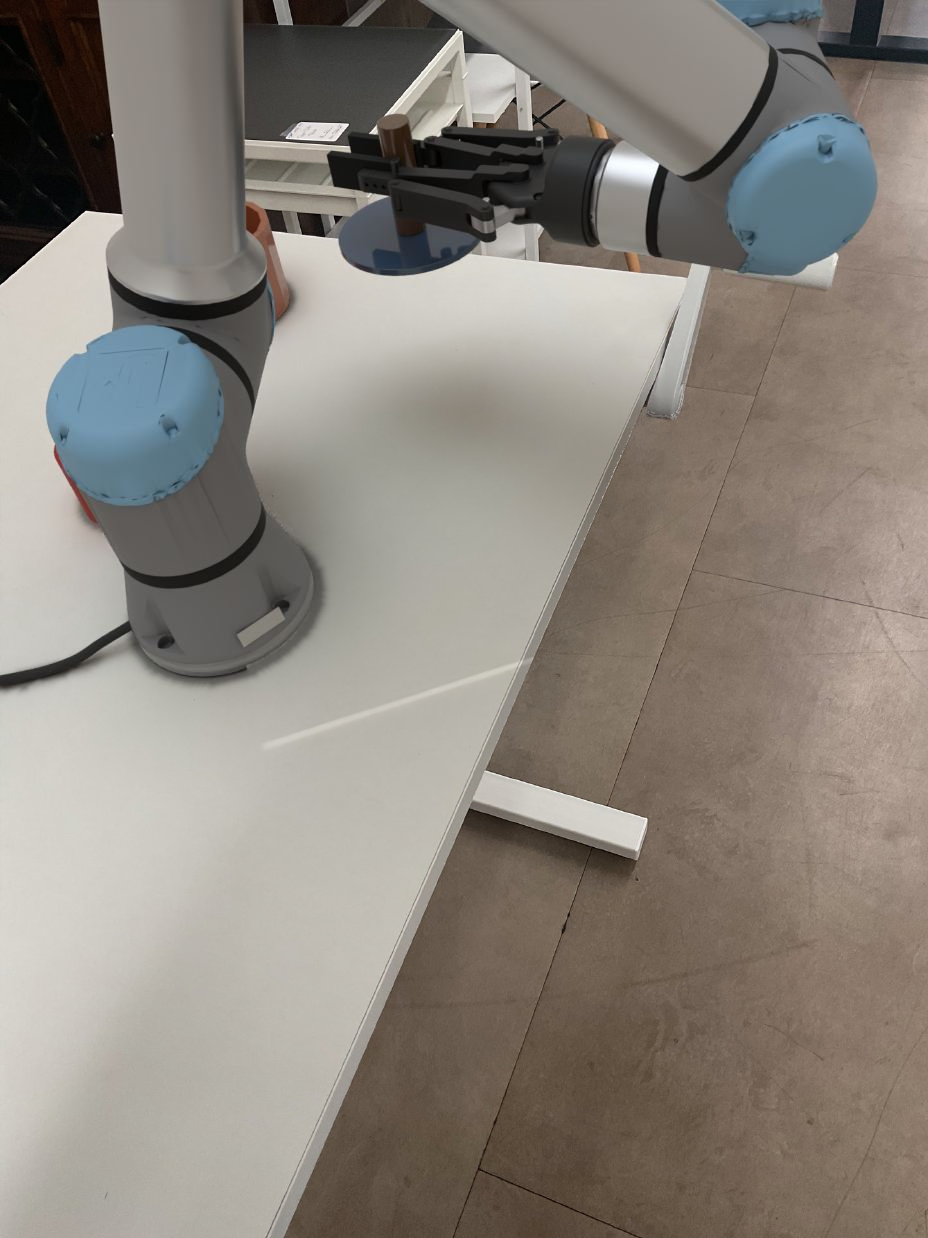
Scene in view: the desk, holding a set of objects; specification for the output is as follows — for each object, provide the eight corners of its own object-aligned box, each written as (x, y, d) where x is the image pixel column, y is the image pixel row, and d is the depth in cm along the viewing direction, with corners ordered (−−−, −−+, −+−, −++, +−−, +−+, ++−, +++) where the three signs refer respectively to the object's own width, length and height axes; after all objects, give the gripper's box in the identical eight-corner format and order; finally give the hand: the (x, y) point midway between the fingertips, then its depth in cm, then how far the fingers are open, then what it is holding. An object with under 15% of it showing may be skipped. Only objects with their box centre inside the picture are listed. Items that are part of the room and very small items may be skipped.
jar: (195, 349, 109) (164, 270, 102) (182, 294, 116) (153, 217, 109) (298, 320, 110) (276, 240, 103) (279, 267, 118) (257, 189, 110)
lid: (386, 301, 81) (361, 178, 73) (316, 240, 88) (286, 123, 81) (515, 241, 84) (504, 117, 77) (436, 187, 92) (419, 70, 84)
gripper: (568, 298, 74) (303, 250, 82) (645, 191, 82) (396, 158, 91) (563, 200, 68) (279, 160, 77) (647, 95, 76) (381, 70, 85)
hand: (343, 159), depth 84 cm, fingers closed on lid, 3 cm apart
